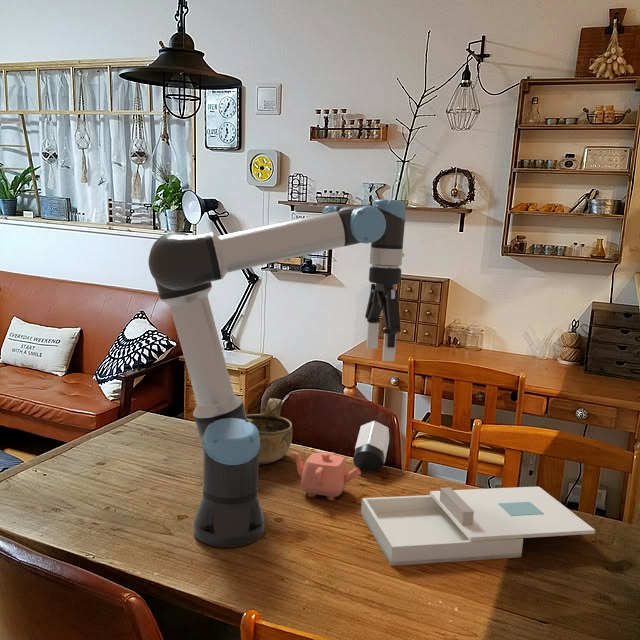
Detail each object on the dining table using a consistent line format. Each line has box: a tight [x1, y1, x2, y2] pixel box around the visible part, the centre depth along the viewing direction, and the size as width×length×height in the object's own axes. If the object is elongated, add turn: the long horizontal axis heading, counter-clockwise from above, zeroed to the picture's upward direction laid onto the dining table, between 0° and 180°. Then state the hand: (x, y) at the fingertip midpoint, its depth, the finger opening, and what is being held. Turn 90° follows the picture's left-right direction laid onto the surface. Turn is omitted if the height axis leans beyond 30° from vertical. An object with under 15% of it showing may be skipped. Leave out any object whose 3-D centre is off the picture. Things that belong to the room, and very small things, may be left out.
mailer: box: [360, 494, 524, 567], centre depth 139 cm, size 28×22×4 cm
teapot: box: [289, 450, 362, 501], centre depth 157 cm, size 14×12×10 cm
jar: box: [352, 420, 390, 473], centre depth 174 cm, size 9×8×12 cm
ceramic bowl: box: [246, 397, 293, 466], centre depth 175 cm, size 22×17×15 cm
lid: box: [429, 486, 596, 541], centre depth 142 cm, size 28×22×4 cm
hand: (379, 354), depth 155 cm, fingers open, 13 cm apart
